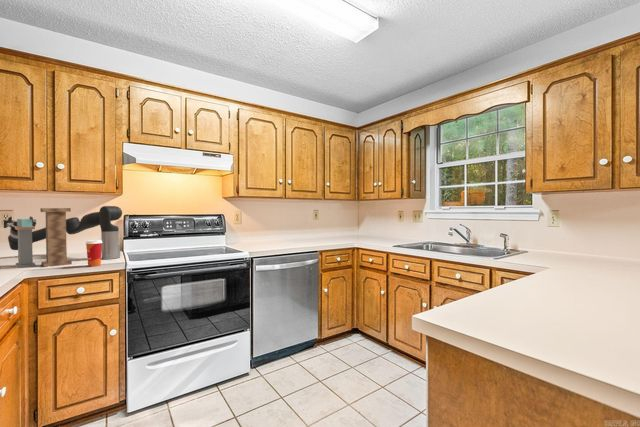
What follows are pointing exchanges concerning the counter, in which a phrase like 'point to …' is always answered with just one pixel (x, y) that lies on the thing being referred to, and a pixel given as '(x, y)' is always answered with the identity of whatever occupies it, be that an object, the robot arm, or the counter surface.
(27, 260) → the ledge
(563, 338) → the counter surface
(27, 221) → the bar
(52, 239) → the stand
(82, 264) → the counter surface
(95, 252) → the paper cup
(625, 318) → the counter surface
